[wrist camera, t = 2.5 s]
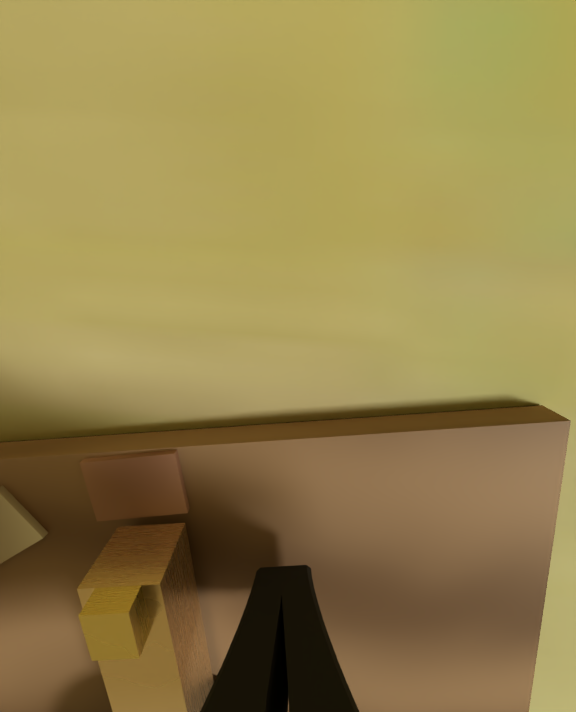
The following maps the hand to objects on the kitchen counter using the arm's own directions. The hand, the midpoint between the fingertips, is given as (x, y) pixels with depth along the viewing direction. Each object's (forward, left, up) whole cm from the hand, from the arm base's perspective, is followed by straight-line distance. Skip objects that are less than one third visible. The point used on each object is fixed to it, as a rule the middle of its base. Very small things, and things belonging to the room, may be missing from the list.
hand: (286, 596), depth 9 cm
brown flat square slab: (-7, +3, -2) cm, 8 cm away
